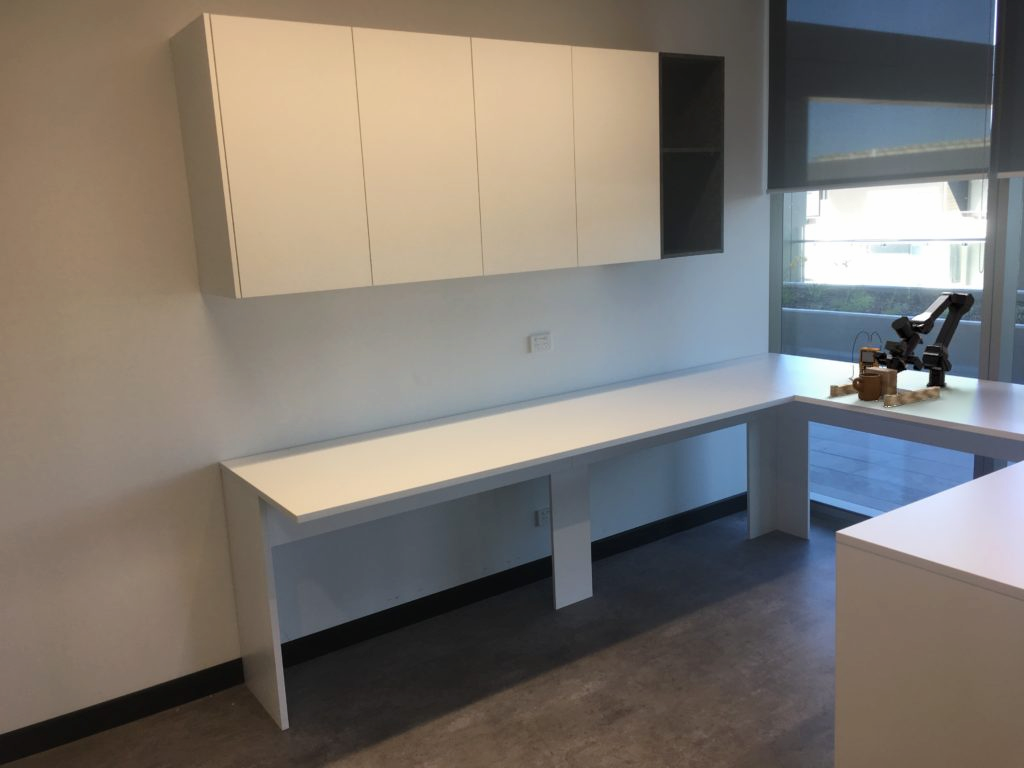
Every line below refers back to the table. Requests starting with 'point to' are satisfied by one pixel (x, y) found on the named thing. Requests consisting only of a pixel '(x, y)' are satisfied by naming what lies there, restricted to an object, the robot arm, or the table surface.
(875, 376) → the mug
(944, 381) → the robot arm
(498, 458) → the table surface
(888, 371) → the wooden block
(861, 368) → the multimeter
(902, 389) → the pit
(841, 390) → the channel
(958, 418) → the table surface
